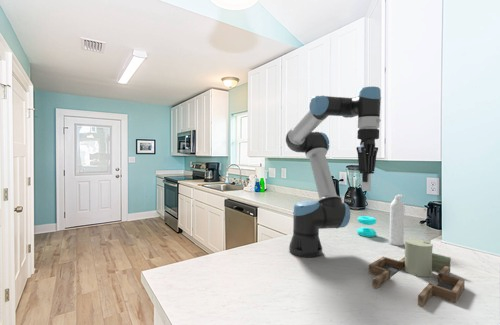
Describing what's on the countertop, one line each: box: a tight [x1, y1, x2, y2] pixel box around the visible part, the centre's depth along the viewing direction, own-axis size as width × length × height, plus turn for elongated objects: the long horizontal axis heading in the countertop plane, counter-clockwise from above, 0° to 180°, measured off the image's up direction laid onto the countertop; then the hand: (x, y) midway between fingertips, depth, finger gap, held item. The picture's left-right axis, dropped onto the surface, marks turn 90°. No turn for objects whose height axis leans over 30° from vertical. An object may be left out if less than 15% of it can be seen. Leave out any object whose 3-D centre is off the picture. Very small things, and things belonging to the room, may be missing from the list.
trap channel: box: [368, 252, 465, 307], centre depth 93 cm, size 35×26×6 cm
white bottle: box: [388, 194, 406, 246], centre depth 132 cm, size 9×6×25 cm
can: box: [403, 238, 434, 278], centre depth 99 cm, size 9×9×12 cm
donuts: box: [356, 215, 377, 238], centre depth 147 cm, size 10×10×10 cm
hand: (366, 190), depth 98 cm, fingers closed
